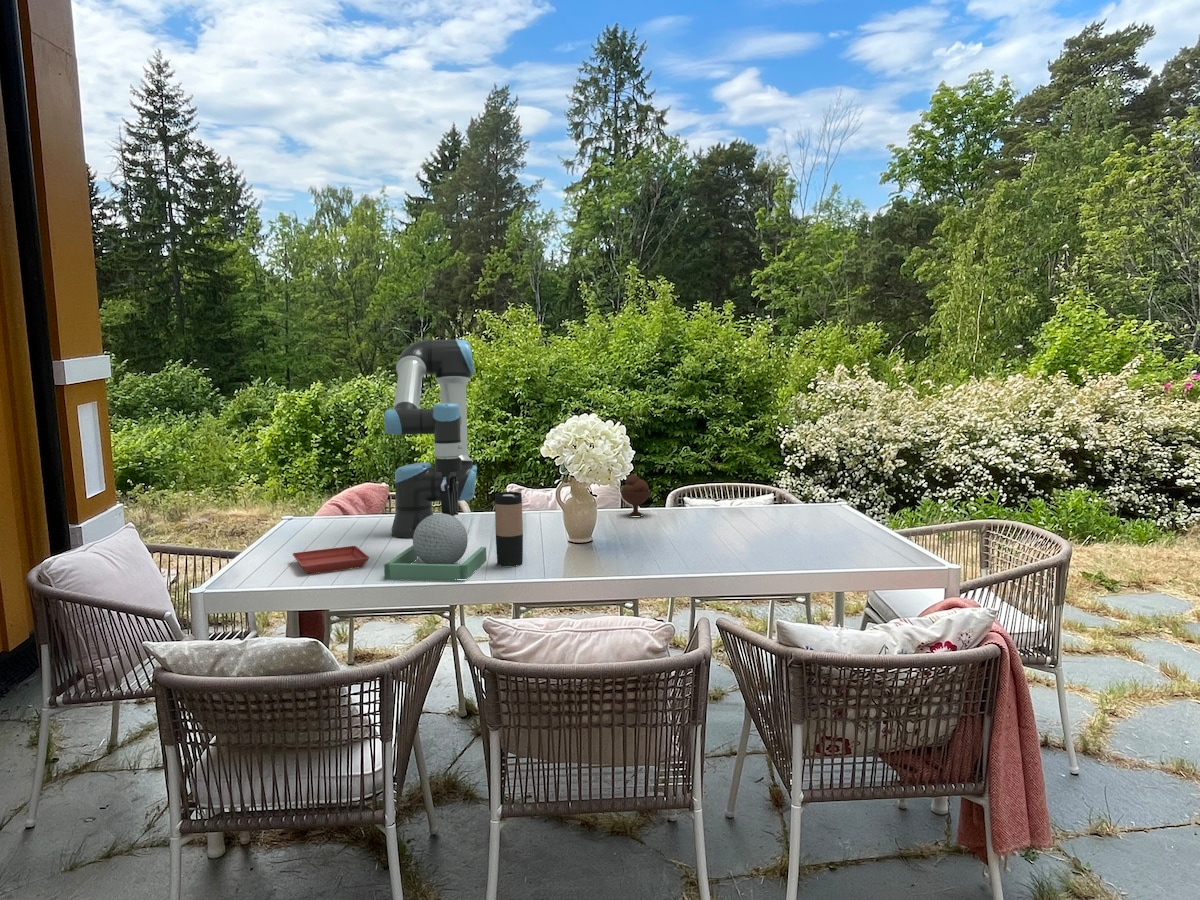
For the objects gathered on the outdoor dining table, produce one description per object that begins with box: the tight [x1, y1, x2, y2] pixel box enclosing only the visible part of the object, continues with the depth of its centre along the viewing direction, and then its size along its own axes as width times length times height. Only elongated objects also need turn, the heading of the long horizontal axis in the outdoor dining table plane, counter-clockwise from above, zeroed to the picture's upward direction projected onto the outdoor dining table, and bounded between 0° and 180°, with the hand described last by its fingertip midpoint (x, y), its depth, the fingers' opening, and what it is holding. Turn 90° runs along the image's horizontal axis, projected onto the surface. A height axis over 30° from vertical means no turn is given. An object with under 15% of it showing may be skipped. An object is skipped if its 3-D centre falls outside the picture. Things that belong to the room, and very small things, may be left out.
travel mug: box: [494, 491, 524, 567], centre depth 229 cm, size 8×8×20 cm
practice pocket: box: [383, 545, 487, 581], centre depth 224 cm, size 22×22×4 cm
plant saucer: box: [291, 545, 370, 575], centre depth 231 cm, size 18×18×3 cm
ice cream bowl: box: [620, 474, 651, 517], centre depth 297 cm, size 11×11×15 cm
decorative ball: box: [412, 512, 469, 564], centre depth 227 cm, size 15×15×15 cm
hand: (450, 537), depth 236 cm, fingers closed
